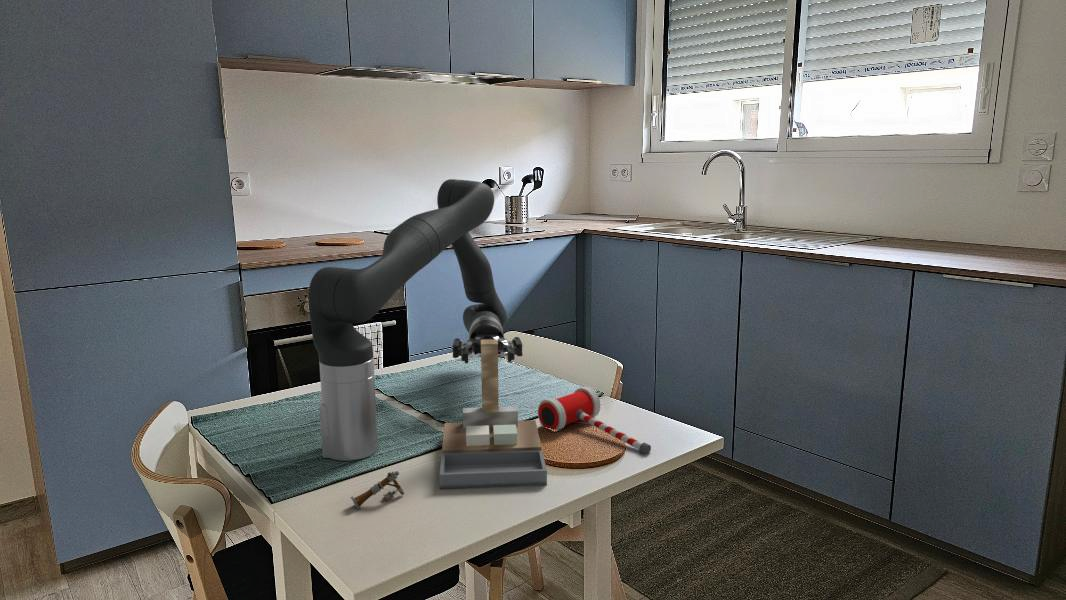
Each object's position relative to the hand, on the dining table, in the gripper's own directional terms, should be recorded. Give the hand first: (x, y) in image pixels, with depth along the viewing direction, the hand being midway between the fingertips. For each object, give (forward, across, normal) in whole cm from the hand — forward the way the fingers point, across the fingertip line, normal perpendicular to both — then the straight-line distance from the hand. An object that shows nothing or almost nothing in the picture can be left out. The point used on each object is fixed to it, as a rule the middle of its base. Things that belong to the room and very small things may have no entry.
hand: (488, 358), depth 141 cm
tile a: (+18, -2, +10) cm, 20 cm away
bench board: (+15, 0, +12) cm, 20 cm away
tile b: (+18, +2, +10) cm, 20 cm away
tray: (+25, 0, +12) cm, 28 cm away
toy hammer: (+8, +20, +13) cm, 25 cm away
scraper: (+11, 0, +10) cm, 14 cm away
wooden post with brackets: (+32, -18, +13) cm, 39 cm away
